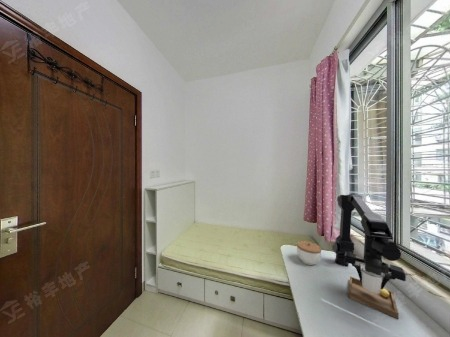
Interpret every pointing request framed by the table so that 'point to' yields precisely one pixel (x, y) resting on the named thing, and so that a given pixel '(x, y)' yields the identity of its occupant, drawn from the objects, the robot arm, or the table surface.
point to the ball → (384, 292)
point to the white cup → (371, 281)
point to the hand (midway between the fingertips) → (371, 284)
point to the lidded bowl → (308, 252)
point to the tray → (372, 298)
